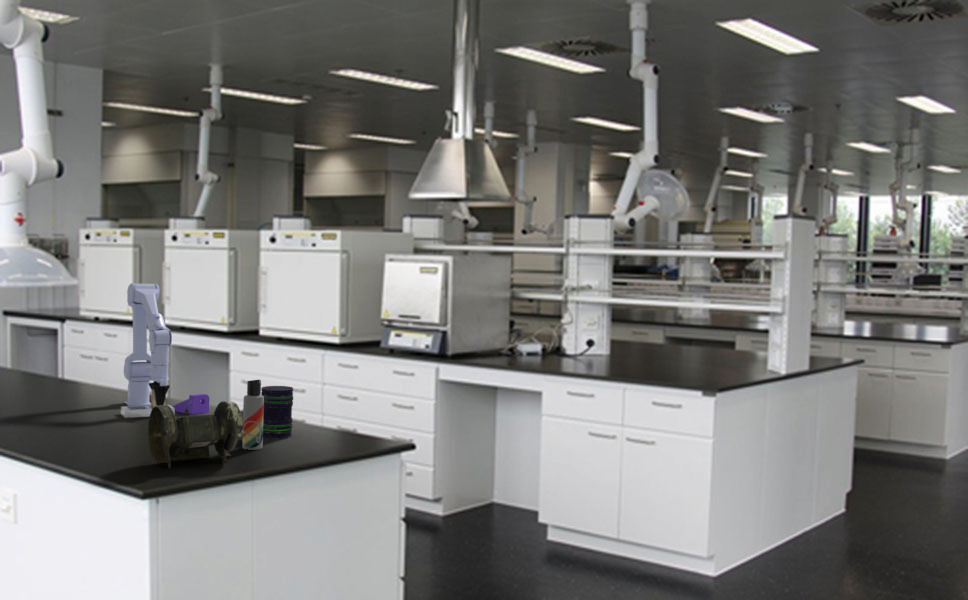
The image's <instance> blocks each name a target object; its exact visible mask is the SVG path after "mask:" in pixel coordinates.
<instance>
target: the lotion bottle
mask: <svg viewBox="0 0 968 600" xmlns="http://www.w3.org/2000/svg"><path fill="white" fill-rule="evenodd" d="M246 384H247V386H246V395H244V396H243V403H242V404H243V405H242V420H243V429H244V434H243V436H242V442H241V443H242V446H241V447H242V449H243V450H247V449H248V450H249V451H255V450H261V449H263V442H264V438H263V412H264V396H262V395H261V392H262V391H261V388H262V380H261V379H253V380H252V379H251V380H247V383H246ZM248 450H247V451H248Z"/></svg>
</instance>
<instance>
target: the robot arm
mask: <svg viewBox="0 0 968 600" xmlns="http://www.w3.org/2000/svg"><path fill="white" fill-rule="evenodd" d="M160 292H161V291H160V286H159V285H158V284H157V283H133V282H131V283H130V284H129V285H128V287H127V291H126V293H127V306H128V307H131V310H132V353H131V354H129V355H127V356H126V357H125V359H124V366H123V376H124V378H125V380H127V381H128V385H127V400H124V403H125V404H126V406H150V405H151V402H150V392H152V389H154V392H155V398H156V404H157V406H160V405H164V401H165V397H166V398H167V393H168V391H169V389H170V387H171V385H170V384H168V383H167V382H169V379H170V378H169V360H170V359H169V358H170V357H169V354H170V351H169V349H170V347H171V345H172V341H173V336H172V335H173V334H172V331H171V329H169V327H167V326H166V323H165V320H164V317H163V315H162V314H161V313H159V309H158V304H157V302H158V300H159V298H160ZM147 329H148V330H147ZM148 332H149V335H147V334H148ZM148 343H149V352H150V353H151V354H149V353H148ZM150 381H152V382H150Z"/></svg>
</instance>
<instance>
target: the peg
mask: <svg viewBox="0 0 968 600" xmlns="http://www.w3.org/2000/svg"><path fill="white" fill-rule="evenodd" d="M150 400H151V402H150V403H151V408H152V409H153V408H154V407H156V406H157V404H156V398H155V392H154V389H152V391H151V395H150ZM166 400H167V396H166V397H165V401H164V405H167V403H166V402H167V401H166ZM164 405H160V406H164Z"/></svg>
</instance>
